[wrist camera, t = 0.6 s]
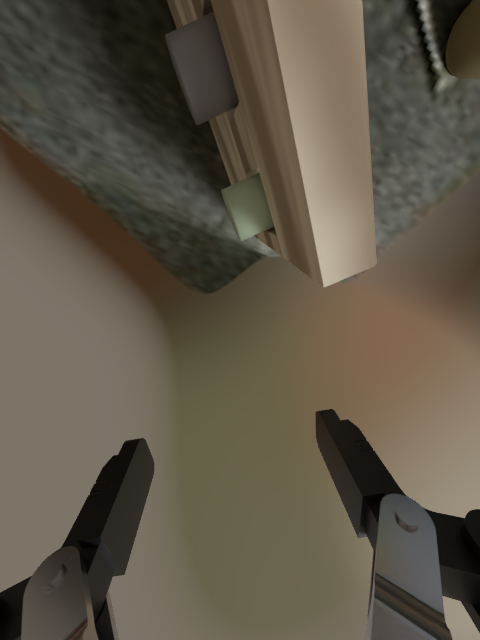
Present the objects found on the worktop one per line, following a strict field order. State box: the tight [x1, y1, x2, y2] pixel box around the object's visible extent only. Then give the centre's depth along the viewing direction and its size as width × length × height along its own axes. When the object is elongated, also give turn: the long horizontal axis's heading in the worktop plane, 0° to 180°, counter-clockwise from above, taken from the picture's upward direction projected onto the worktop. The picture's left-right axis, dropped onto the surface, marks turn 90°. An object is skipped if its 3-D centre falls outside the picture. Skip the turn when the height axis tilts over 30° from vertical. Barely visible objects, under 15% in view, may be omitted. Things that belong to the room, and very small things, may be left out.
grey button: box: [165, 11, 239, 125], centre depth 14 cm, size 4×4×4 cm
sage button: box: [221, 173, 274, 241], centre depth 18 cm, size 4×4×4 cm
